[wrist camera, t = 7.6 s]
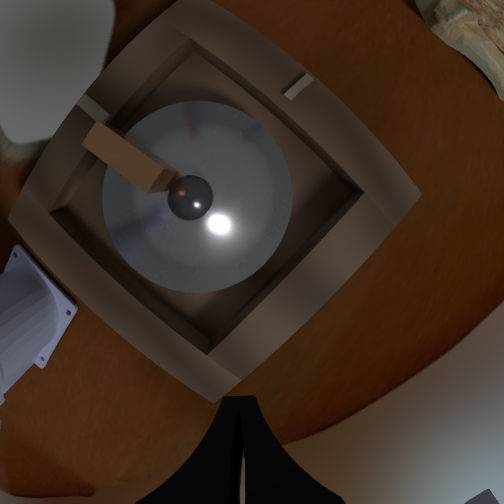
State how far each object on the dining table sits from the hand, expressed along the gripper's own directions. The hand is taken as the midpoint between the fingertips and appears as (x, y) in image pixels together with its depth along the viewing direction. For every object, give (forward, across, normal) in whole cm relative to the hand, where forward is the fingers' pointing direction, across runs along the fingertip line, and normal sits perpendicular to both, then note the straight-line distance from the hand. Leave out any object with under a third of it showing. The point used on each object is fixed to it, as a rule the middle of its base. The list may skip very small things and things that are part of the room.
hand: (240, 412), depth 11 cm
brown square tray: (+10, +2, -9) cm, 14 cm away
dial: (+9, +2, -9) cm, 13 cm away
